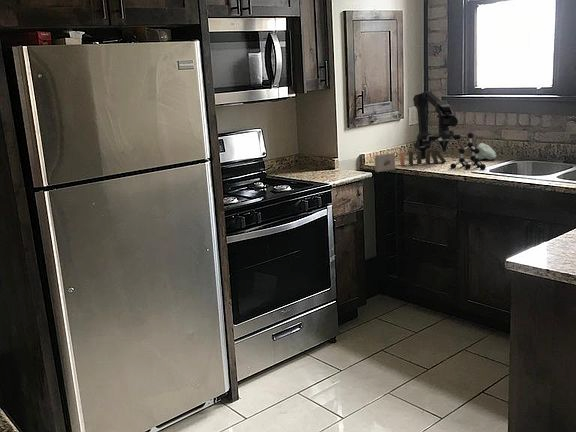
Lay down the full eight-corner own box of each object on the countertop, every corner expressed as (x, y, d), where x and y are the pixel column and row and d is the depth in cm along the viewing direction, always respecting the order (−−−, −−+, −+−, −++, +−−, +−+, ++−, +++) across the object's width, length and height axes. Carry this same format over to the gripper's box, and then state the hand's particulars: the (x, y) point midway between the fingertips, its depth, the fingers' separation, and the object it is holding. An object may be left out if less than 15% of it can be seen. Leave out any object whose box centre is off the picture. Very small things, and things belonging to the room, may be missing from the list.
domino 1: (401, 166, 374) (401, 152, 372) (400, 164, 379) (400, 151, 377) (404, 165, 374) (404, 152, 372) (403, 164, 379) (403, 151, 377)
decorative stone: (469, 158, 382) (472, 147, 374) (482, 150, 386) (484, 138, 378) (486, 170, 375) (488, 159, 367) (498, 162, 379) (501, 150, 371)
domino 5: (435, 163, 373) (431, 151, 371) (433, 162, 378) (430, 150, 376) (438, 163, 373) (434, 150, 371) (436, 161, 378) (433, 149, 376)
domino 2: (410, 165, 374) (409, 152, 372) (408, 164, 378) (408, 150, 377) (413, 165, 374) (412, 152, 372) (411, 163, 378) (411, 150, 376)
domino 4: (427, 164, 373) (426, 151, 371) (425, 163, 378) (425, 149, 376) (430, 164, 373) (430, 150, 371) (428, 162, 378) (428, 149, 376)
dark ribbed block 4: (418, 165, 373) (418, 151, 372) (417, 163, 378) (416, 150, 376) (421, 164, 373) (421, 151, 371) (420, 163, 378) (419, 150, 376)
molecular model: (484, 170, 344) (485, 134, 340) (449, 169, 355) (449, 133, 350) (493, 165, 359) (494, 130, 354) (459, 163, 369) (459, 129, 365)
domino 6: (443, 163, 373) (435, 153, 372) (442, 162, 378) (433, 151, 376) (446, 161, 373) (438, 151, 371) (444, 160, 378) (436, 150, 376)
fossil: (378, 172, 359) (377, 155, 357) (374, 171, 362) (374, 155, 360) (395, 169, 364) (395, 153, 362) (392, 168, 367) (391, 152, 365)
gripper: (430, 128, 363) (430, 154, 366) (462, 125, 362) (462, 152, 366) (426, 126, 373) (426, 152, 377) (458, 124, 373) (458, 150, 377)
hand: (443, 151), depth 374 cm, fingers closed
